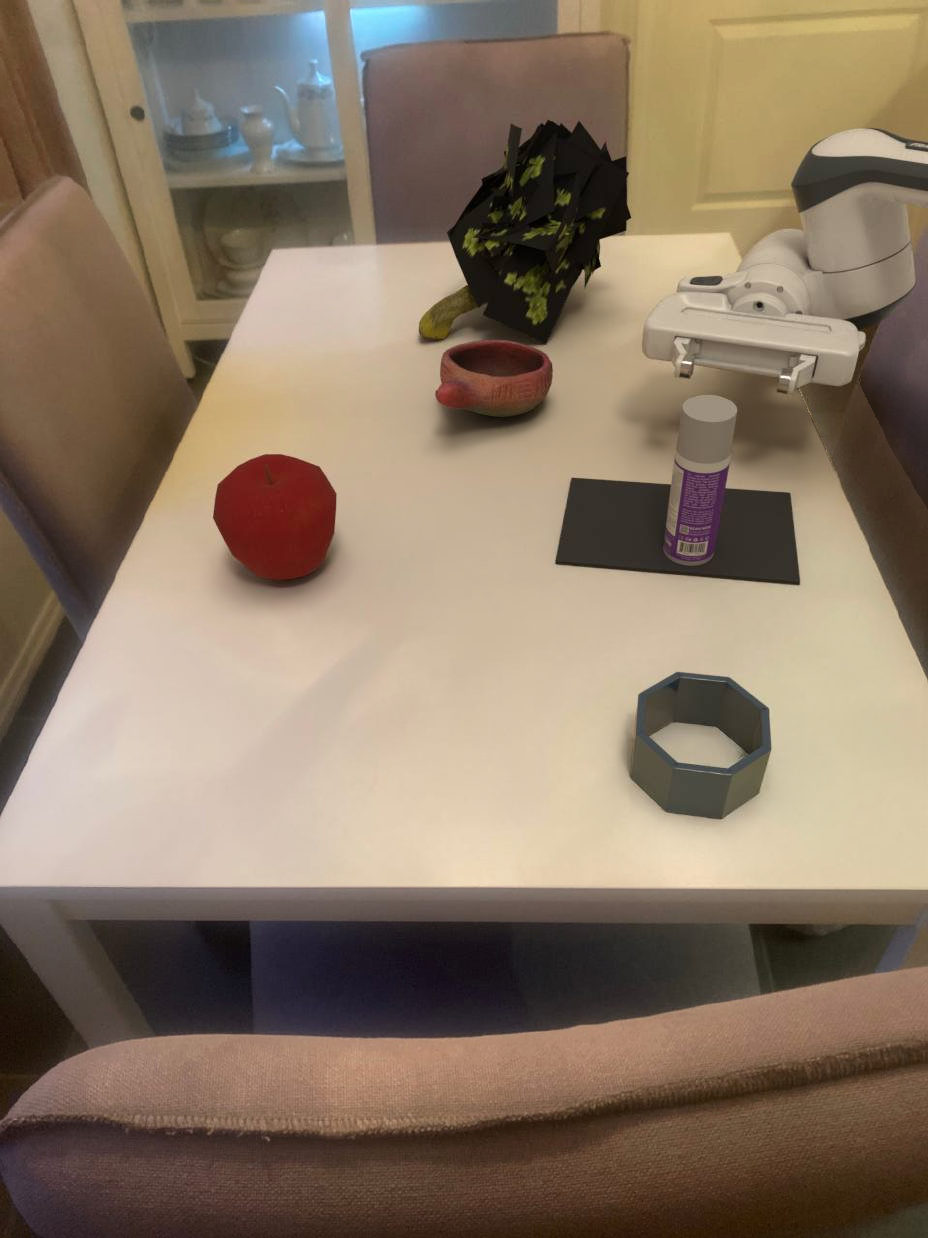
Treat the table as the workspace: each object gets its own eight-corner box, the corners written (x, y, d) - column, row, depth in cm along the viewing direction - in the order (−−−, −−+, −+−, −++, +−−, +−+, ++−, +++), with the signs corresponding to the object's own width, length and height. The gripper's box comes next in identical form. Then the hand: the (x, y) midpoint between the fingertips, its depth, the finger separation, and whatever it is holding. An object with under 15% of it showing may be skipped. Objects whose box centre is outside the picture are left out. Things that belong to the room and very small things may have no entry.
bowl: (448, 382, 113) (444, 320, 107) (552, 382, 112) (554, 319, 106) (434, 453, 101) (429, 388, 96) (551, 454, 100) (552, 388, 94)
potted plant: (459, 383, 115) (587, 153, 98) (371, 280, 125) (473, 53, 107) (566, 391, 130) (693, 193, 113) (480, 299, 140) (585, 103, 122)
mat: (789, 495, 92) (790, 492, 92) (799, 585, 82) (800, 581, 82) (571, 480, 96) (571, 477, 96) (555, 564, 86) (555, 560, 86)
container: (723, 548, 86) (749, 405, 76) (695, 572, 83) (718, 428, 73) (681, 529, 88) (701, 388, 78) (653, 552, 86) (669, 409, 76)
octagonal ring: (755, 725, 70) (767, 680, 67) (760, 824, 64) (773, 780, 60) (635, 711, 72) (640, 667, 69) (627, 807, 65) (633, 763, 62)
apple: (225, 610, 83) (194, 505, 75) (237, 538, 91) (210, 437, 83) (346, 599, 84) (327, 493, 76) (347, 529, 91) (331, 427, 84)
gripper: (860, 360, 92) (843, 428, 83) (660, 333, 99) (624, 392, 90) (876, 299, 88) (860, 363, 79) (666, 275, 95) (629, 331, 85)
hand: (733, 378), depth 84 cm, fingers open, 8 cm apart
